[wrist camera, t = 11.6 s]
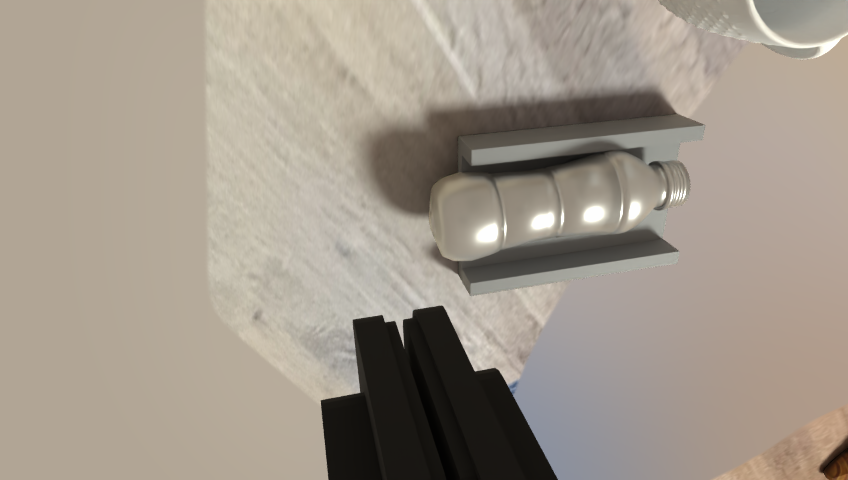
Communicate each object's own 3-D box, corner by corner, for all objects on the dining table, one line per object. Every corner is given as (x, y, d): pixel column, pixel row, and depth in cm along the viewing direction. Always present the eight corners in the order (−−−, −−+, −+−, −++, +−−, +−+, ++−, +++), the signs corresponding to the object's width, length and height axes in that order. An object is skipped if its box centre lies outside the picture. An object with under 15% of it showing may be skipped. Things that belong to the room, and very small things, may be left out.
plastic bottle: (444, 281, 40) (697, 238, 43) (437, 192, 37) (708, 152, 40) (425, 245, 46) (649, 209, 49) (418, 165, 43) (656, 132, 46)
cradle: (457, 136, 43) (471, 150, 40) (677, 113, 47) (705, 125, 44) (458, 274, 49) (470, 296, 46) (653, 245, 52) (677, 263, 49)
